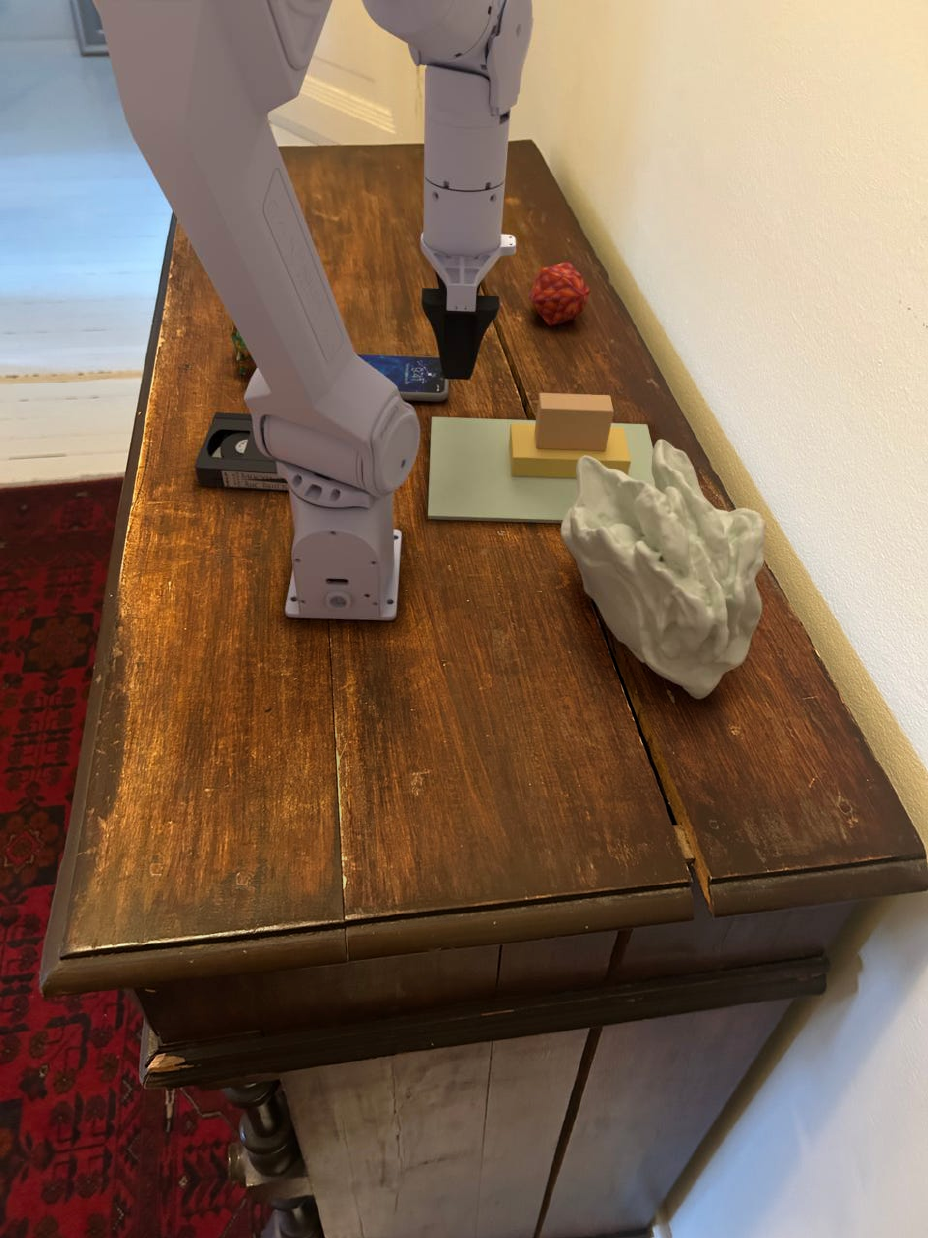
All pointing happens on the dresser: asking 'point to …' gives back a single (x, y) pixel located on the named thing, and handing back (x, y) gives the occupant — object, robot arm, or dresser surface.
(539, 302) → the red bumpy ball
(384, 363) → the smartphone
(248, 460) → the vhs tape
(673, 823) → the dresser surface
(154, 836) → the dresser surface
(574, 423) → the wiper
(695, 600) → the wavy plaster lump
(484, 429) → the mat
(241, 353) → the figurine
